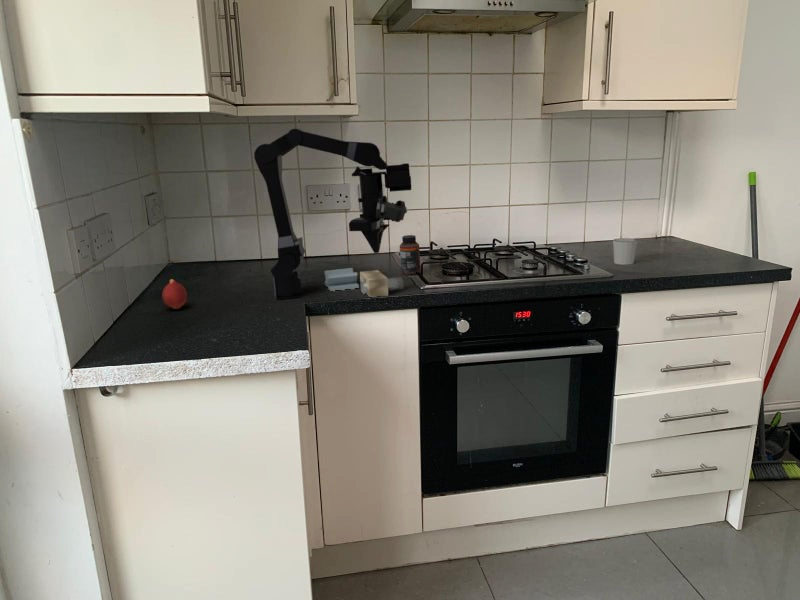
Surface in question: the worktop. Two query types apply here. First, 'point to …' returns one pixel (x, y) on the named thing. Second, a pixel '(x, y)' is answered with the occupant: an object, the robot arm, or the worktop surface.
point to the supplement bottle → (409, 255)
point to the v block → (341, 279)
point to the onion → (174, 295)
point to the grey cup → (624, 250)
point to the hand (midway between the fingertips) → (376, 252)
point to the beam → (375, 283)
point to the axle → (392, 285)
